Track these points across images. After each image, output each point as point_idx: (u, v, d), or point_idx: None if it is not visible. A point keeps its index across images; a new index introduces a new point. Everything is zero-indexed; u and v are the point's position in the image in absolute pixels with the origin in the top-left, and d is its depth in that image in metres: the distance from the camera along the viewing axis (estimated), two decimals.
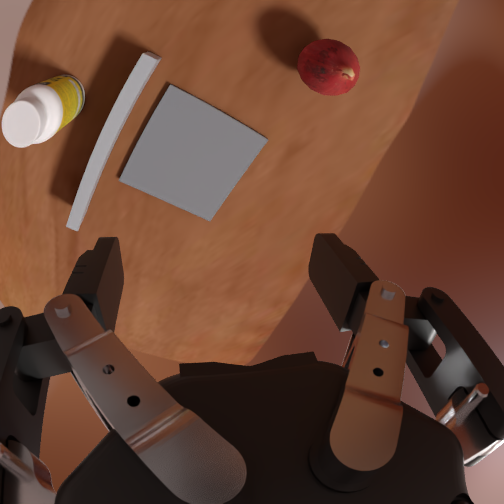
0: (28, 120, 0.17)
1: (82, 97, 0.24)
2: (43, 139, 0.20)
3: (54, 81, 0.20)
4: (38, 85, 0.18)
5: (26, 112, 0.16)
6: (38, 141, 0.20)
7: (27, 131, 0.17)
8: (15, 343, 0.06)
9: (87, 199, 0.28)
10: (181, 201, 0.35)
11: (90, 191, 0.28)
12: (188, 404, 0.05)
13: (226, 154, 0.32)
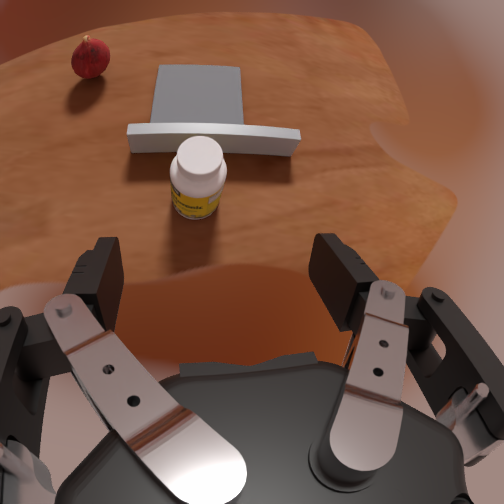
0: (193, 147, 0.25)
1: None
2: None
3: None
4: (171, 177, 0.27)
5: (186, 151, 0.25)
6: None
7: (203, 145, 0.25)
8: (15, 342, 0.06)
9: (263, 127, 0.34)
10: (235, 86, 0.39)
11: (255, 126, 0.34)
12: (188, 404, 0.05)
13: (183, 77, 0.38)
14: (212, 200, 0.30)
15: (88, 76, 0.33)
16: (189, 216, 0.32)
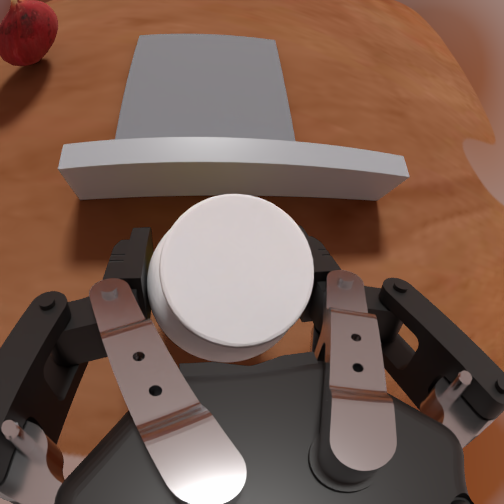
0: (214, 239, 0.08)
1: None
2: None
3: None
4: None
5: (192, 257, 0.07)
6: None
7: (249, 231, 0.08)
8: (54, 329, 0.06)
9: (346, 149, 0.16)
10: (271, 68, 0.22)
11: (330, 147, 0.16)
12: None
13: (179, 52, 0.20)
14: None
15: (20, 61, 0.15)
16: None
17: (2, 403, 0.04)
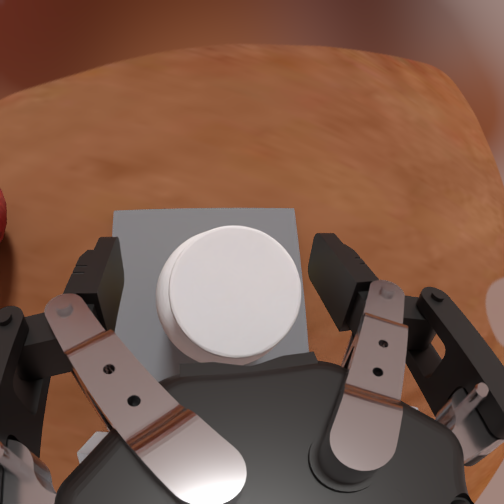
0: (214, 267, 0.09)
1: None
2: None
3: None
4: (160, 321, 0.11)
5: (196, 283, 0.09)
6: None
7: (245, 259, 0.09)
8: (16, 342, 0.06)
9: None
10: None
11: None
12: (188, 404, 0.05)
13: (170, 253, 0.19)
14: None
15: None
16: None
17: None
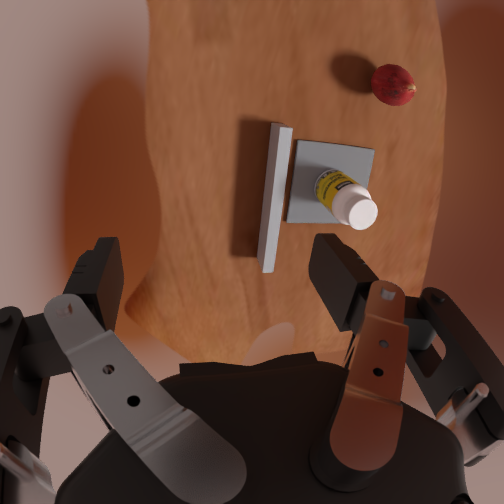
0: (369, 210, 0.34)
1: None
2: None
3: (346, 178, 0.37)
4: (350, 185, 0.35)
5: (367, 206, 0.34)
6: None
7: (369, 217, 0.35)
8: (15, 342, 0.06)
9: (275, 245, 0.42)
10: (335, 218, 0.45)
11: (276, 238, 0.41)
12: (188, 404, 0.05)
13: (353, 172, 0.42)
14: (328, 209, 0.39)
15: (371, 80, 0.33)
16: (318, 184, 0.40)
17: None
